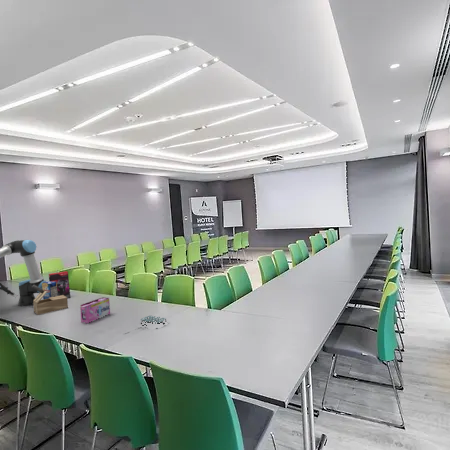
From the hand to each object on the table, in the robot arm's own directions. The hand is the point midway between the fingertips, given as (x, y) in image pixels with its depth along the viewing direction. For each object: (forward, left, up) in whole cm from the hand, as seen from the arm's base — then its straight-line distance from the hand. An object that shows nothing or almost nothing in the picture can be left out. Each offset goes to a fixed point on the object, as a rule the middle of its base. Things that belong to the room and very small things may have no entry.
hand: (15, 295), depth 258 cm
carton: (0, +26, -19) cm, 32 cm away
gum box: (+58, +44, -19) cm, 75 cm away
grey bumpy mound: (+111, +58, -20) cm, 127 cm away
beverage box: (-17, +30, -19) cm, 39 cm away
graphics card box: (-34, +42, -19) cm, 58 cm away
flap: (0, +18, -5) cm, 19 cm away
